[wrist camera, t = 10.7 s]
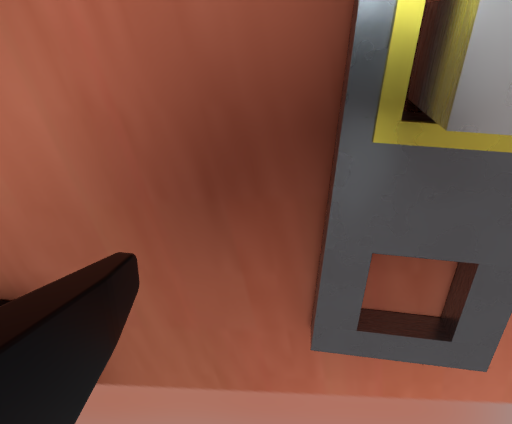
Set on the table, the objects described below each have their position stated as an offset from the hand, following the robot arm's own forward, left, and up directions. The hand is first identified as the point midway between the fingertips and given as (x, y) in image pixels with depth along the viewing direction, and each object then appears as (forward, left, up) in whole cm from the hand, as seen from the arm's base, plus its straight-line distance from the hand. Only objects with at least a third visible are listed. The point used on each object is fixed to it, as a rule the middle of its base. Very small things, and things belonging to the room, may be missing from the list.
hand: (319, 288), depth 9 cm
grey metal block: (+6, +5, -12) cm, 14 cm away
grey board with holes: (+6, -1, -12) cm, 14 cm away
